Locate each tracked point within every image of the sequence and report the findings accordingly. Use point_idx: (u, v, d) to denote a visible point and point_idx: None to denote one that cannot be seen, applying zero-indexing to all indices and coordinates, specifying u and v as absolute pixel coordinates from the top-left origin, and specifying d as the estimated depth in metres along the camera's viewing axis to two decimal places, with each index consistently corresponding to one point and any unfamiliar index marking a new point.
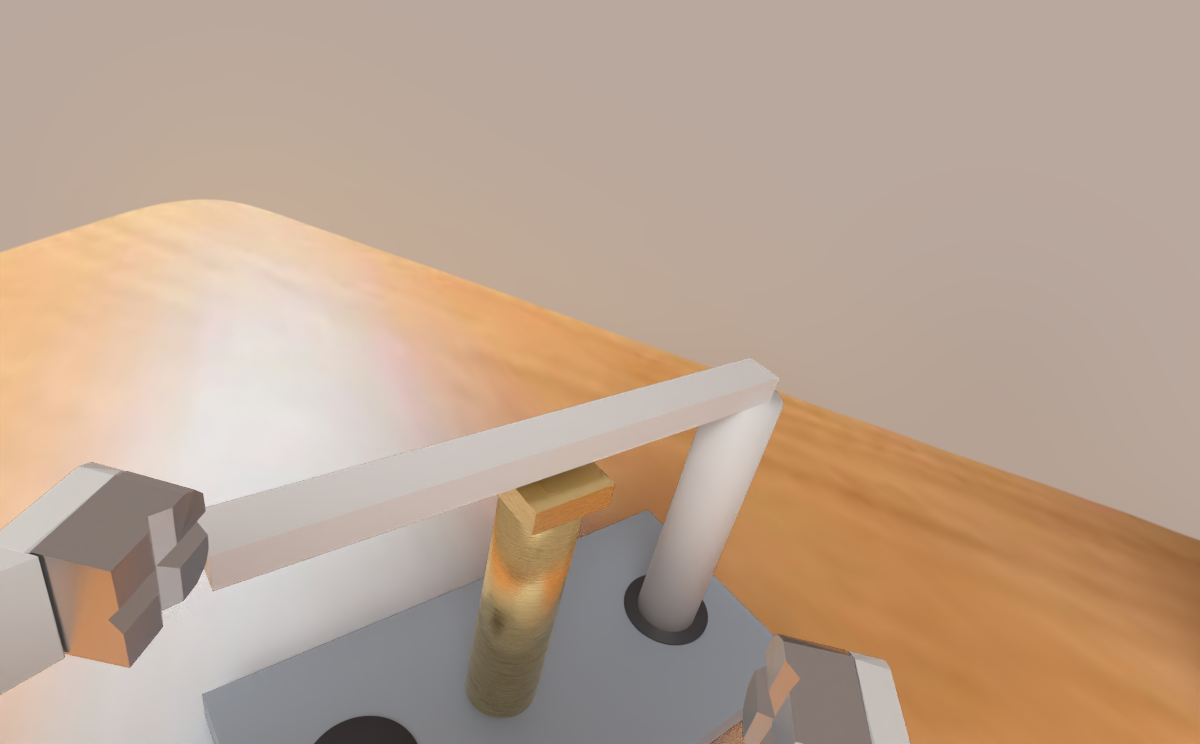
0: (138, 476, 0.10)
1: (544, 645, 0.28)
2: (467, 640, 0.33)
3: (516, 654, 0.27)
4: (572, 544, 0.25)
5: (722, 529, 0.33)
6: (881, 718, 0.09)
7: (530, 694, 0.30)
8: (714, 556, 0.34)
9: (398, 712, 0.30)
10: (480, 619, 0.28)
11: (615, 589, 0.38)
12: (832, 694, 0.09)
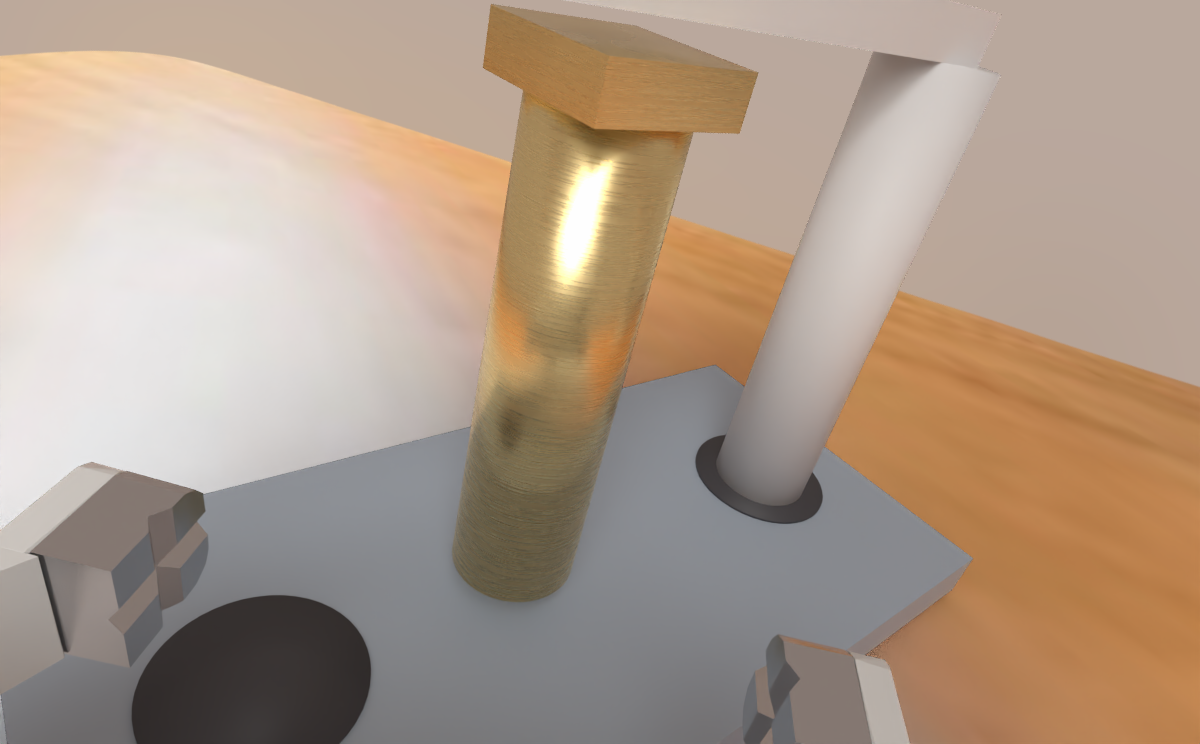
0: (138, 476, 0.10)
1: (594, 459, 0.15)
2: (457, 499, 0.21)
3: (544, 467, 0.15)
4: (663, 218, 0.13)
5: (873, 316, 0.20)
6: (881, 718, 0.09)
7: (565, 562, 0.17)
8: (853, 369, 0.21)
9: (335, 593, 0.17)
10: (479, 404, 0.15)
11: (681, 449, 0.25)
12: (832, 694, 0.09)
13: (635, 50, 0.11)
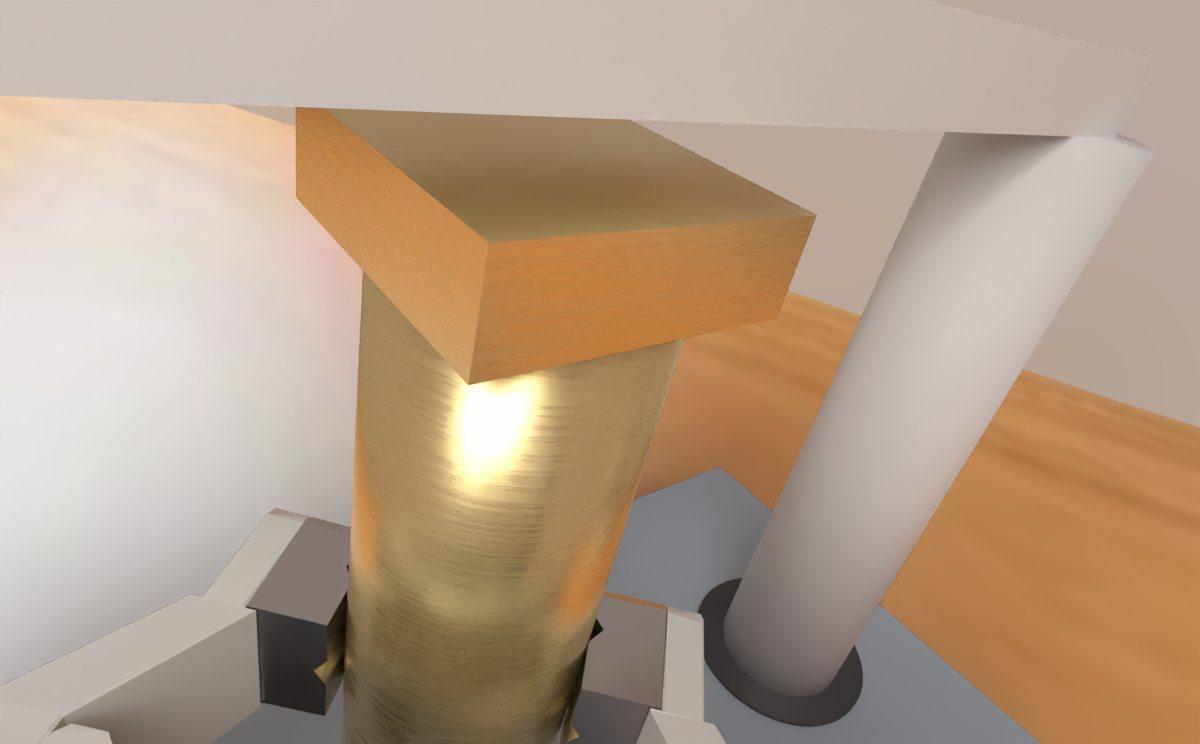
0: (324, 522, 0.10)
1: None
2: None
3: None
4: (636, 466, 0.07)
5: (946, 476, 0.14)
6: (678, 668, 0.09)
7: None
8: (913, 539, 0.15)
9: None
10: (344, 710, 0.09)
11: None
12: (633, 644, 0.09)
13: (566, 195, 0.05)
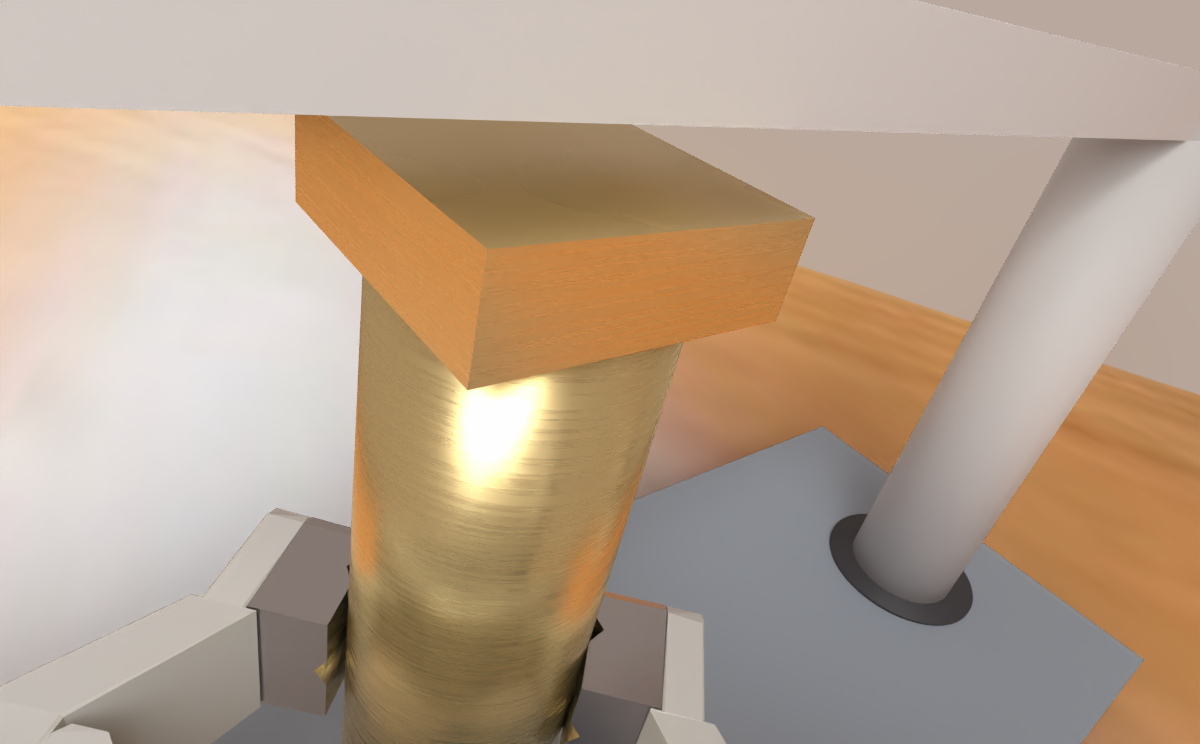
0: (324, 522, 0.10)
1: None
2: None
3: None
4: (636, 469, 0.07)
5: (1065, 410, 0.18)
6: (679, 668, 0.09)
7: None
8: (1032, 464, 0.19)
9: None
10: (345, 712, 0.09)
11: (812, 535, 0.23)
12: (633, 644, 0.09)
13: (565, 200, 0.05)
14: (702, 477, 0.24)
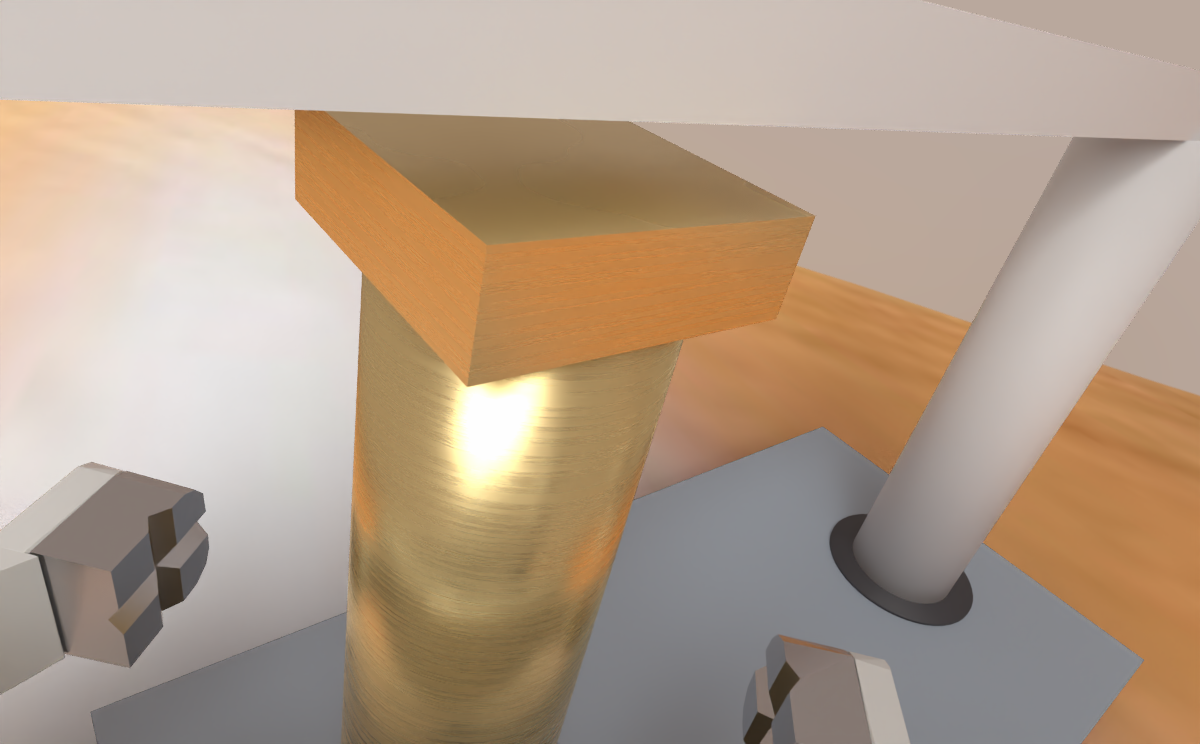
0: (138, 476, 0.10)
1: None
2: None
3: None
4: (636, 467, 0.07)
5: (1065, 410, 0.18)
6: (881, 718, 0.09)
7: None
8: (1032, 464, 0.19)
9: None
10: (344, 711, 0.09)
11: (812, 536, 0.23)
12: (832, 694, 0.09)
13: (565, 197, 0.05)
14: (702, 477, 0.24)
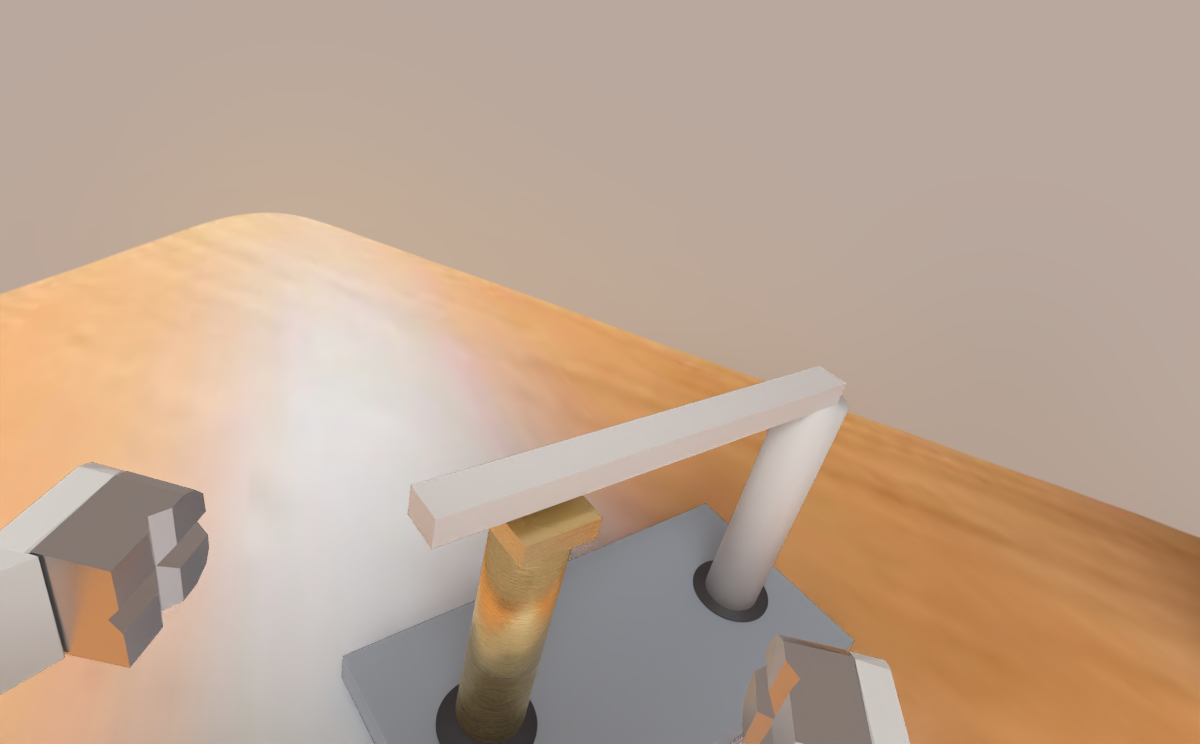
0: (138, 476, 0.10)
1: (533, 672, 0.29)
2: (561, 614, 0.38)
3: (505, 681, 0.28)
4: (560, 575, 0.26)
5: (789, 517, 0.37)
6: (881, 718, 0.09)
7: (519, 719, 0.30)
8: (780, 541, 0.38)
9: None
10: (470, 646, 0.28)
11: (684, 573, 0.42)
12: (832, 694, 0.09)
13: (540, 525, 0.24)
14: (626, 539, 0.43)
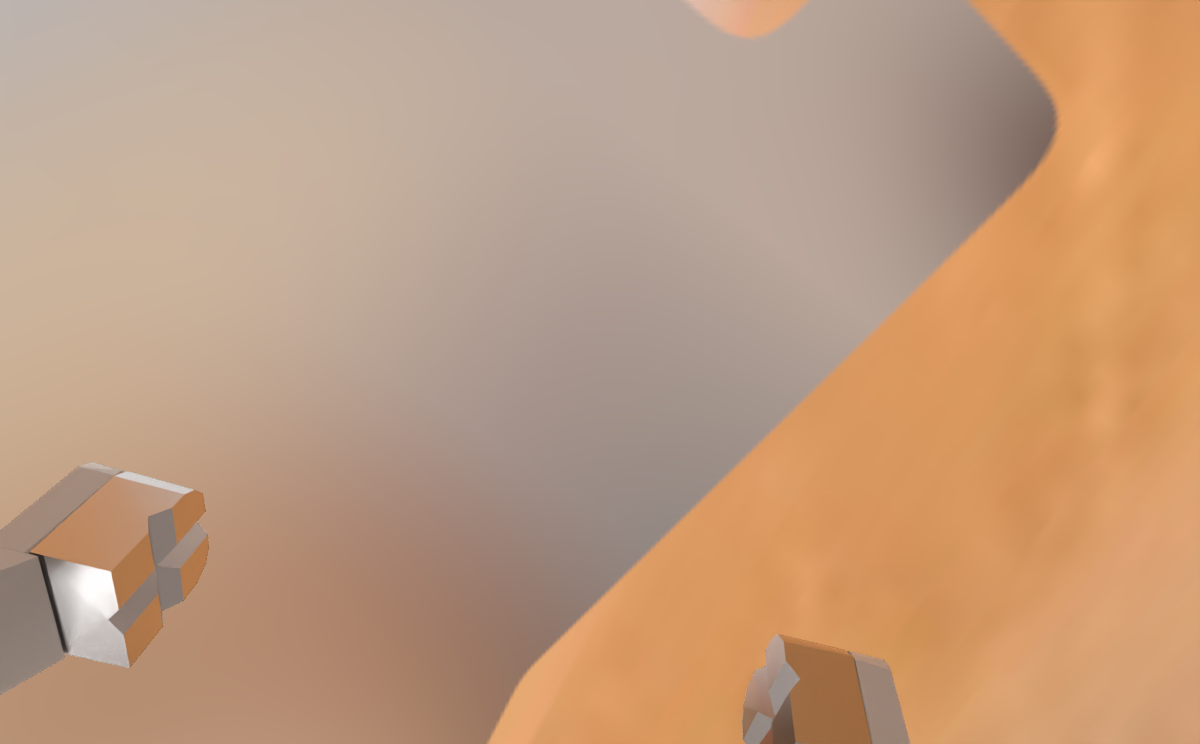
0: (138, 476, 0.10)
1: None
2: None
3: None
4: None
5: None
6: (881, 718, 0.09)
7: None
8: None
9: None
10: None
11: None
12: (832, 694, 0.09)
13: None
14: None
